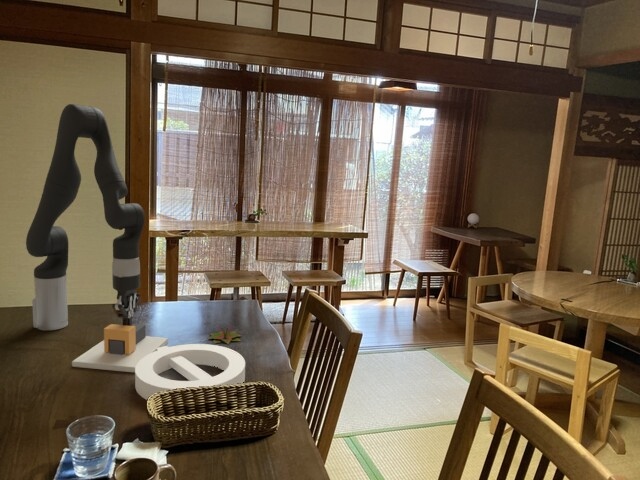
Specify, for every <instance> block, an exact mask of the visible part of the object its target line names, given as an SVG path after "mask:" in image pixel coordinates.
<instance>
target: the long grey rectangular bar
mask: <svg viewBox="0 0 640 480" xmlns="http://www.w3.org/2000/svg"><path fill="white" fill-rule="evenodd" d="M132 326H135V331H136V344H138V343H139V342H140V341H141V340H143V339H144V338H145V336H146V324H134V323H132ZM110 354H119V355H124V354H125V341H122V340H110Z"/></svg>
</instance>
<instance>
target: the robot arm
mask: <svg viewBox="0 0 640 480" xmlns="http://www.w3.org/2000/svg"><path fill="white" fill-rule="evenodd" d="M106 119H107V118H106V116H105V115H104V113H103V112H102V110H101V109H99V108H97V107H94V106H93V107H92V106H87V105H81V104H78V103H77V104H75V103H69V104H66V106H64V107H63V109H62V111H61V115H60V117H59V123H58V129H57V134H56V139H55V145H54V146H55V147H54V151H53V155H52V158H51V162H50V165H49V169H48V172H47V175H46V178H45V182H44V186H43V190H42V194H41V198H40V201H39V203H38V206H37V210H36V211H35V212H36V213H35V214H34V217H33V219H32V222H31V223H30V226H29V229H28V231H27V235H26V241H25V246H26V247H25V248H26V250H27V252H28V254H29V255H30V256H31V257H34V258H43V257H44V258H45V257H46V258H45V259H44V261H42V262H41V263H40V264H38V265H37V266H36V267H34V269H33V276H34V277H33V279H34V280H33V281H34V298H33V299H31V302H32V322H33V323H32V325H33V328H35V329H37V330H40V331H57V330H60V329H63V328H66V327H67V326H68V324H69V314H68V313H69V312H68V287H67V270H68V266H69V238H68V237H69V236H68V234H67V232H66V230H65V229H64V228H63V227H62V226H58V225H57V226H56V225H55V223H56V221H57V220H58V218H60V216H62V214H64V212H65V211H66V210H67V209H68V208H69V207H70V206H71V205H72V204H73V203H74V201H75V200H76V198H77V197H78V193H79V189H80V186H81V182H82V174H81V171H80V168H79V165H78V163H77V159H76V156H75V149H76V146H77V141H78V139H79V138H83V139H91V141H92V142H93V144H94V146H95V150H96V157H95V162H94V166H93V167H94V168H93V174H94V178H95V181H96V183H97V186H98V188H99V191H100V193H101V197H102V202H103V211H104V219H105V222H106V224H107V225H108V226H109V227H111V228H112V229H113V230H123V229H124V231H123V233H122V234H121V235H118V236H117V237H115V238H114V239H113V240H112V264H111V267H112V269H111V270H112V271H111V272H112V288H113V290H115V291H116V292H117V293H116V300H117V301H116V303H113V304H112V306H111V307H112V309H113V312H114V313H115V315H116V317H117V318H119V319H120V318H121V319H122V320H121V321H122V325H127V326H132V324H133V317H134V313H136V312H137V308H138V305H139V302H140V298H141V293H137V290H138V289H140V287H141V263H140V241H141V238H142V232H143V230H144V225H145V220H146V217H145V215H146V214H145V211H144V209H143V207H142V206H141V205H140V204H139V203H137V202H135V203H134V202H131V203H120V200H122V199H124V198H125V197H127V195H129V194H128V192H129V190H128V187H127V184H126V182H125V180H124V177H123V175H122V172H121V170H120V168H119V166H118V161H117V159H116V156H115V151H114V148H113V147H114V146H113V142H112V139H111V135H110V131H109V130H110V129H109V126H108V122H107V120H106ZM54 225H55V226H54Z"/></svg>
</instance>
